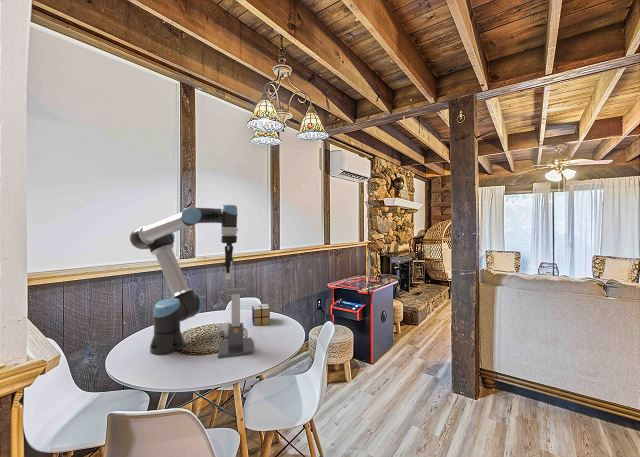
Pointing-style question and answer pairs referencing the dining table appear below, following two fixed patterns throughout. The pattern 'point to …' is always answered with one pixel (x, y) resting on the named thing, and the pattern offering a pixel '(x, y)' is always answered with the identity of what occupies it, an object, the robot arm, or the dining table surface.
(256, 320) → the puzzle cube
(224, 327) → the bunny figurine
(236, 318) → the post
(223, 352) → the jack stand base
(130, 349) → the dining table surface
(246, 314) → the dining table surface
